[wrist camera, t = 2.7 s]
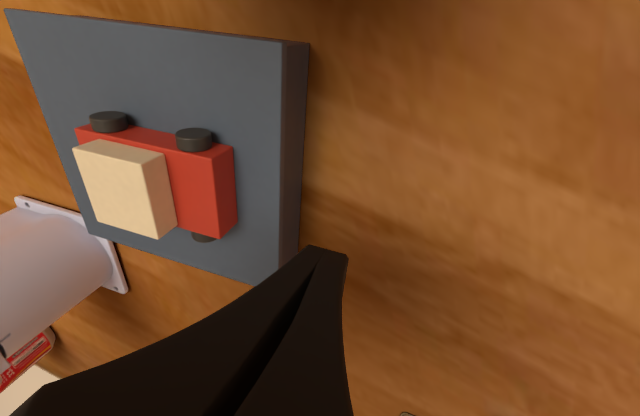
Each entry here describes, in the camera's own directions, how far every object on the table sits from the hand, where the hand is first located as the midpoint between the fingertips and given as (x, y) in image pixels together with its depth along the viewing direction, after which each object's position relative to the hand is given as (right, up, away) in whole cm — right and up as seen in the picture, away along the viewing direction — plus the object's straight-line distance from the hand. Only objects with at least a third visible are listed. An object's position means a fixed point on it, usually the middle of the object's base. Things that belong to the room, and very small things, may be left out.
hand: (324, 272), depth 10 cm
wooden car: (-7, +4, +5) cm, 10 cm away
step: (-7, +6, +8) cm, 12 cm away
